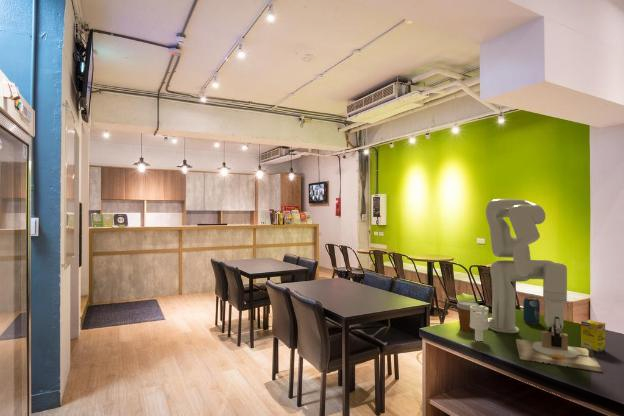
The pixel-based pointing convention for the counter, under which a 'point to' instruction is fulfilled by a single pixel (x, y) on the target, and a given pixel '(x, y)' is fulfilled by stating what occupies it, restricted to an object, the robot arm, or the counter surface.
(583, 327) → the supplement box
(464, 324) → the disposable coffee cup
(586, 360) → the level stand
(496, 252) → the robot arm
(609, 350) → the counter surface
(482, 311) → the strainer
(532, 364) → the counter surface
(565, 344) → the dial
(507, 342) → the counter surface
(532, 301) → the soda can
